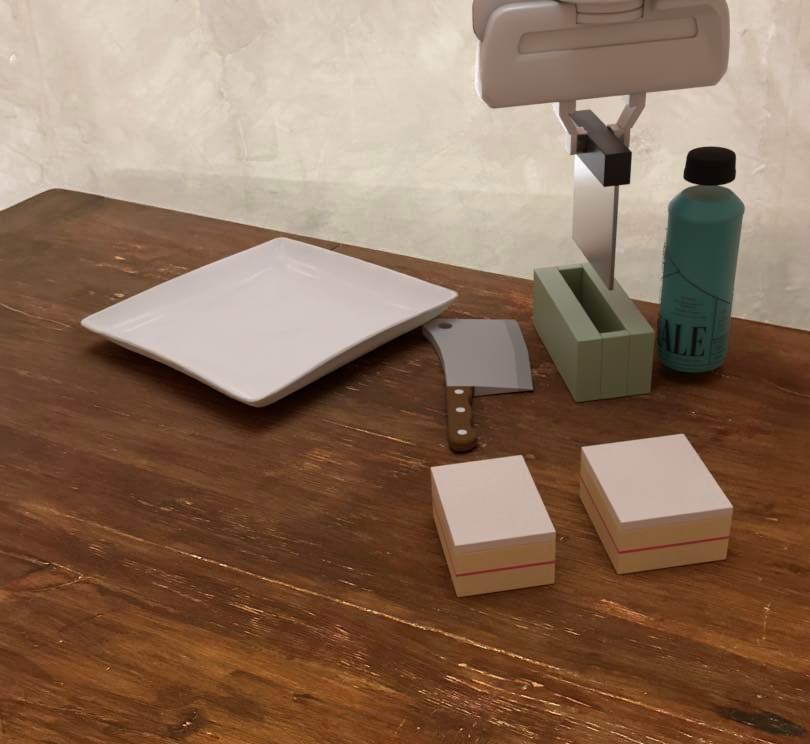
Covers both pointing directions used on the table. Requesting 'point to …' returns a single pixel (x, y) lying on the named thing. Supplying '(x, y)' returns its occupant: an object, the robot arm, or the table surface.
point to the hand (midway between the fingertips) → (597, 150)
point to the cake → (654, 504)
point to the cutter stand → (592, 333)
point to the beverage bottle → (700, 264)
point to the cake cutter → (598, 193)
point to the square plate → (270, 318)
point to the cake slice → (492, 526)
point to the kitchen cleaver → (477, 367)
